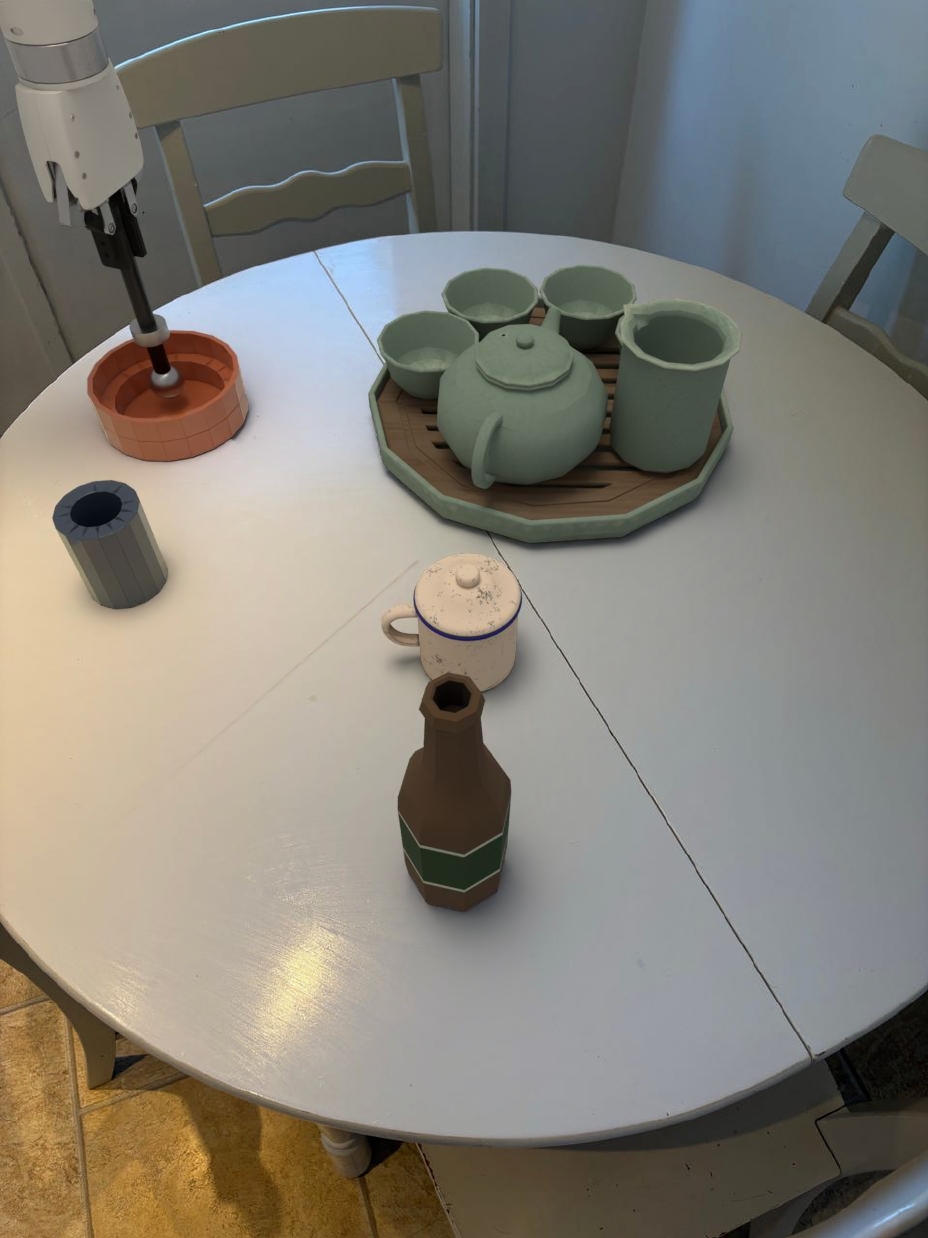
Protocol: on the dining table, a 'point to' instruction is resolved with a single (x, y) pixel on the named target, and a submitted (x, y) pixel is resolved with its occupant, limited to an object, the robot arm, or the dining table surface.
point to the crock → (111, 543)
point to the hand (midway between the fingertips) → (125, 259)
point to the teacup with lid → (463, 619)
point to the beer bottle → (454, 800)
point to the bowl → (169, 424)
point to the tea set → (554, 403)
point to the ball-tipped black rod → (148, 325)
